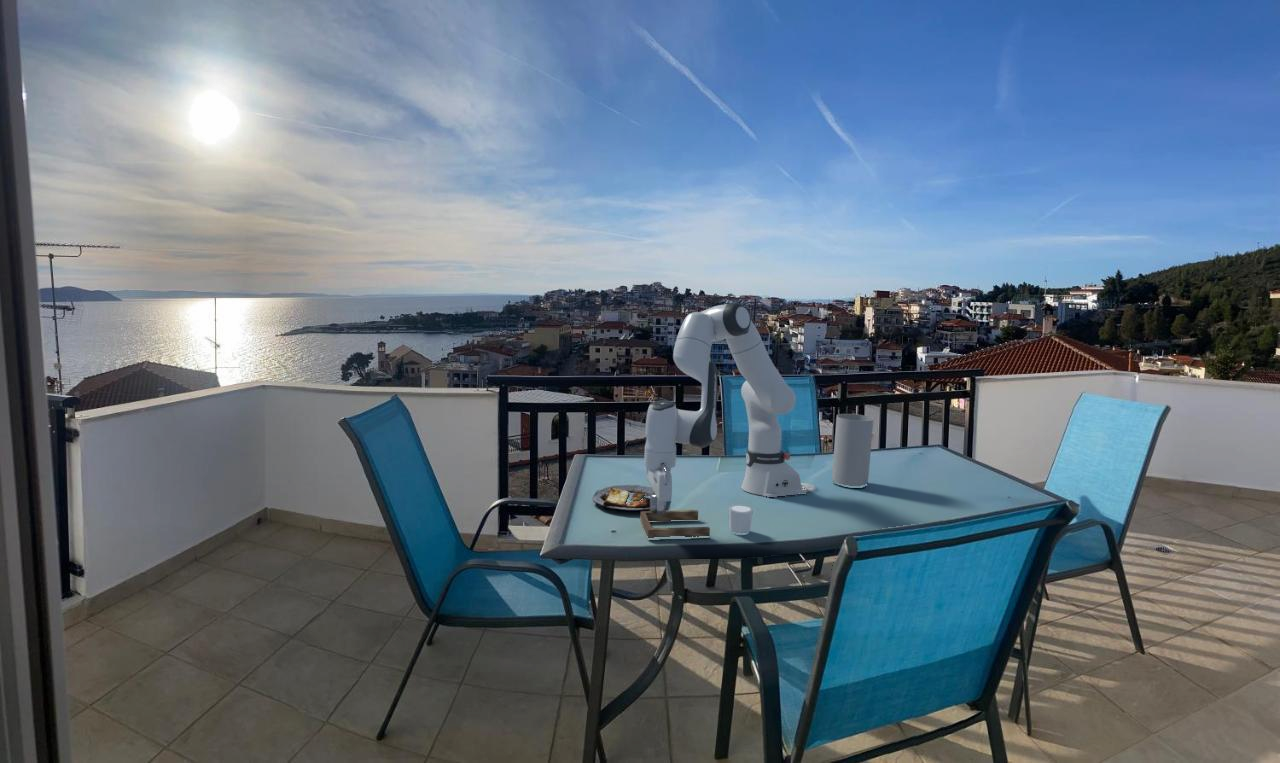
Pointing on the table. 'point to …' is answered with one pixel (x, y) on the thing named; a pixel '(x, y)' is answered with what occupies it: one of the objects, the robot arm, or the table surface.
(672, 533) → the wooden u-shaped frame
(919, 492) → the table surface
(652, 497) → the grey rounded piece
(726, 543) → the table surface
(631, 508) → the food plate
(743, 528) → the shot glass
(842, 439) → the cylinder vase
